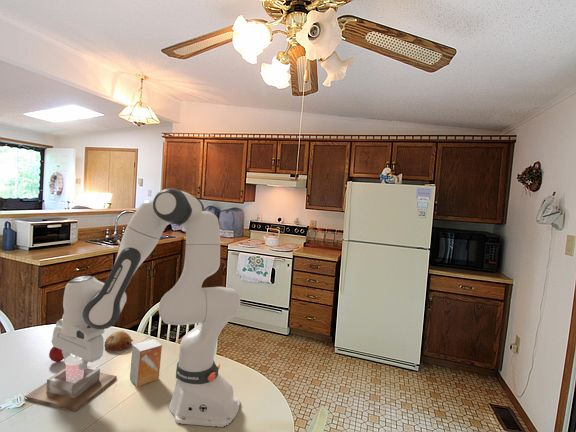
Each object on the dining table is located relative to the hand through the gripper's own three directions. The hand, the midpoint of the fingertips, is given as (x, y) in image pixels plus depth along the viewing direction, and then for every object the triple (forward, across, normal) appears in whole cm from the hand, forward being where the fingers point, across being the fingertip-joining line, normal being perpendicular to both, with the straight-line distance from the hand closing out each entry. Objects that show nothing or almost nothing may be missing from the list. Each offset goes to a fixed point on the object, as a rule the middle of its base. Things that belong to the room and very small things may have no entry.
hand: (75, 365), depth 107 cm
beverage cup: (+7, 0, 0) cm, 7 cm away
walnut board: (+8, 0, 0) cm, 8 cm away
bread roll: (+8, -12, +27) cm, 31 cm away
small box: (+8, +15, +16) cm, 23 cm away
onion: (+8, -19, +7) cm, 22 cm away
